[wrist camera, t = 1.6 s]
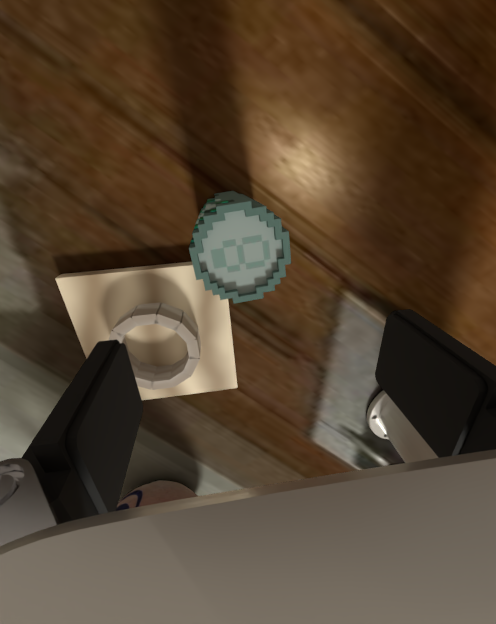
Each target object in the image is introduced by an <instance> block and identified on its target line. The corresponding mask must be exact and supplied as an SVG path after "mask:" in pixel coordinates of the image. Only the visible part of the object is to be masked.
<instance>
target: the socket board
mask: <svg viewBox="0 0 496 624" xmlns="http://www.w3.org/2000/svg"><path fill="white" fill-rule="evenodd" d="M55 279H56V282H57V284H58V287H59V290H60V292H61V295H62V297H63V300H64V302H65V305H66V307H67V310H68V313H69V315H70V318H71V320H72V323H73V325H74V328H75V330H76V333H77V336H78V338H79V341H80V343H81V346H82V348H83V351H84V353H85V356H86V359H87V358H88V356H89V354H90V353H91V351H92V350H93V348H94V347H95V345H96V344H97V343H98V342H99V341H107V340H118V341H119V342H120V343H124V344H125V345H126V348H127V351H128V355H129V358H130V362H131V365H132V369H133V372H134V376H135V379H136V382H137V386H138V389H139V393H140V396H141V400H149V399H156V398H164V397H172V396H179V395H187V394H194V393H202V392H210V391H217V390H225V389H233V388H237V378H236V369H235V360H234V350H233V341H232V331H231V322H230V313H229V303H228V299H224V300H220V296H219V295H213V293H212V290H208V291H205V287H204V282H203V279H200V280H196V276H195V272H194V268H193V264H192V262H183V263H173V264H162V265H152V266H141V267H131V268H120V269H110V270H99V271H89V272H79V273H68V274H61V275H60V276H58V277H57V278H55Z"/></svg>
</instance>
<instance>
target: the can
mask: <svg viewBox="0 0 496 624" xmlns="http://www.w3.org/2000/svg"><path fill="white" fill-rule="evenodd" d="M214 195H215V198H212V199H207V203H206V204H204V207H203V208H202V209H201V211H200V214H199V217H198V219H197V222H196V225H195V228H194V230H193V233H192V234H193V237H192V240H191V243H190V246H189V251H190V256H191V260H192V264H193V268H194V272H195V276H196V280H200V279H203V282H204V287H205V291H208V290H212V293H213V295H219V296H220V300H224V299H229V298H233V303H239V302H245V301H250V300H256V299H261V298H263V292H269V291H274V290H275V287H274V285H275V284H280V278H281V277H286V272H285V265H286V264H291V256H290V242H289V231H287V230H286V229H285V228H283V227H282V226H281V218H279V217H277V216H276V215H274V213H273V212H272V211H270V210H268V209H266V206H264V205H262V204H261V203H259V202H257V201H255V200H253V199H251V198H249V197H247V196H245V195H243V194H238V193H236V192H235V191H228V192H222V193H216V194H214Z"/></svg>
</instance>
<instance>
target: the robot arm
mask: <svg viewBox="0 0 496 624" xmlns="http://www.w3.org/2000/svg"><path fill="white" fill-rule="evenodd" d="M375 377H376V380H377V382H378V384H379V385H380V386H381V387H382V389H383V391H382V392H380V393H379V394H378V395H377V396H376V397H375V398H374V400H373V401H372V403H371V404H370V406H369V409H368V412H367V422H368V425H369V427H370V428H371V430H372V431H373V432H374V433H375V434H376V435H377V436H379V437H381V438H384V439H389V440H390V441H391V443H392V444H393V446H394V447H395V449H396V450H397V451H398V453H399V454H400V456H401V457H402V459H403V460H404V462H405V463H402V464H396V465H389V466H383V467H377V468H370V469H364V470H358V471H352V472H345V473H339V474H333V475H326V476H320V477H314V478H308V479H301V480H295V481H289V482H283V483H277V484H271V485H264V486H258V487H252V488H246V489H240V490H234V491H228V492H222V493H216V494H210V495H204V496H198V497H192V498H186V499H180V500H174V501H168V502H163V503H158V504H152V505H147V506H141V507H136V508H130V509H125V510H119V511H116V508H117V505H118V501H119V497H120V494H121V490H122V486H123V483H124V479H125V475H126V472H127V468H128V464H129V460H130V457H131V453H132V449H133V446H134V442H135V438H136V435H137V431H138V427H139V424H140V420H141V416H142V412H143V404H142V400H141V396H140V393H139V389H138V386H137V382H136V379H135V376H134V372H133V369H132V365H131V362H130V358H129V355H128V351H127V348H126V345H125V344H124V343H120V342H119V341H118V340H107V341H99V342H98V343H97V344H96V345H95V347H94V348H93V350H92V351H91V353H90V354H89V356H88V358H87V359H86V361H85V362H84V364H83V365H82V367H81V368H80V370H79V371H78V373H77V374H76V376H75V377H74V379H73V381H72V382H71V384H70V385H69V387H68V388H67V389H66V391H65V392H64V394H63V395H62V397H61V398H60V400H59V401H58V403H57V405H56V406H55V408H54V409H53V411H52V412H51V414H50V415H49V417H48V418H47V420H46V421H45V423H44V424H43V426H42V427H41V429H40V431H39V432H38V434H37V435H36V437H35V438H34V440H33V441H32V443H31V444H30V446H29V447H28V449H27V450H26V452H25V453H24V455H23V457H22V458H11V459H7V460H3V461H0V624H496V366H495V365H493V364H492V363H491V362H489V361H488V360H486V359H485V358H483V357H482V356H480V355H479V354H477V353H476V352H474V351H473V350H471V349H470V348H468V347H467V346H465V345H464V344H462V343H461V342H459V341H458V340H456V339H455V338H453V337H452V336H450V335H449V334H447V333H446V332H444V331H443V330H441V329H440V328H438V327H437V326H435V325H434V324H432V323H431V322H429V321H428V320H426V319H425V318H423V317H422V316H420V315H419V314H417V313H416V312H414V311H413V310H410V309H407V310H397V311H393V312H392V313H391V315H389V316H388V317H387V319H386V324H385V328H384V333H383V338H382V343H381V348H380V353H379V358H378V363H377V367H376V372H375Z"/></svg>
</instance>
